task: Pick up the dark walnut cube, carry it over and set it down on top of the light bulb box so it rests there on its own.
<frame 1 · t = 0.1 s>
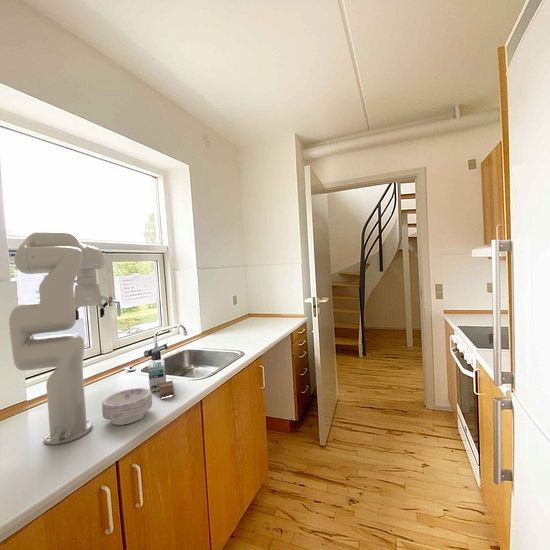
hand: (89, 318, 133), 31 cm above the worktop, tool pointing down, fingers open, 9 cm apart
light bulb box: (158, 387, 127), on the worktop
walnut cube: (167, 396, 117), on the worktop
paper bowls: (129, 419, 100), on the worktop
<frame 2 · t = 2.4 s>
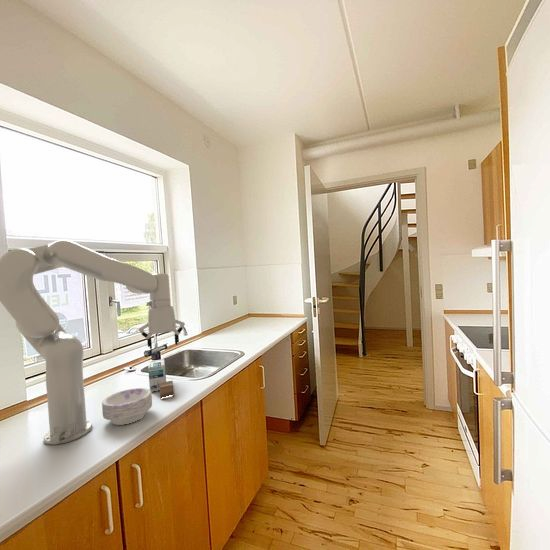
hand: (163, 346, 117), 20 cm above the worktop, tool pointing down, fingers open, 9 cm apart
nothing on the worktop moved.
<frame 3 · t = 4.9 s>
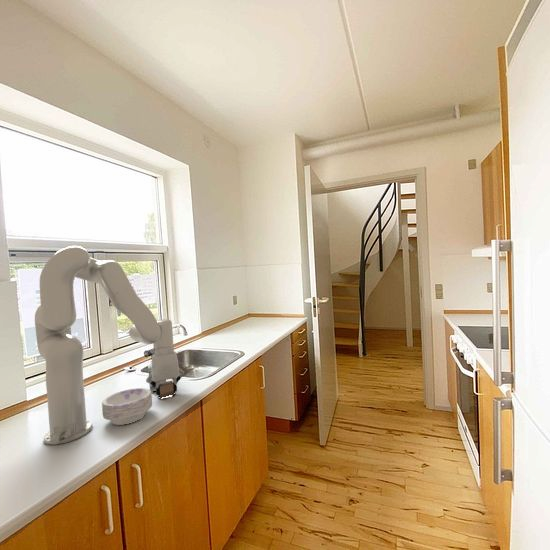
hand: (166, 394, 117), 0 cm above the worktop, tool pointing down, fingers closed on walnut cube, 5 cm apart
walnut cube: (167, 395, 117), on the worktop, touching gripper
everything else where it was.
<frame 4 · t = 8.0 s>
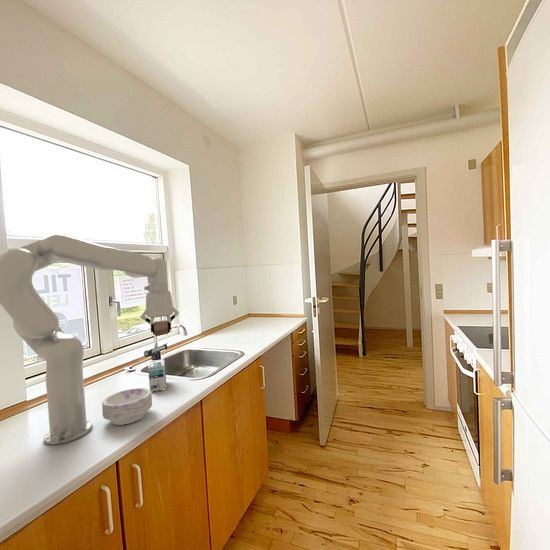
hand: (161, 332, 118), 25 cm above the worktop, tool pointing down, fingers closed on walnut cube, 4 cm apart
walnut cube: (161, 333, 118), point 25 cm above the worktop, touching gripper
everything else where it was.
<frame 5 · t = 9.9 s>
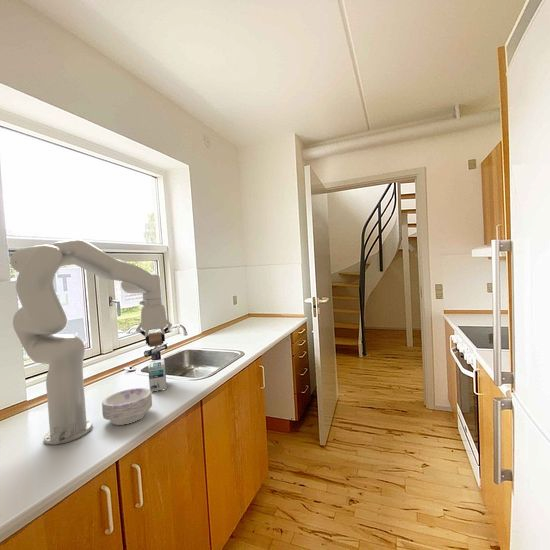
hand: (155, 343, 127), 19 cm above the worktop, tool pointing down, fingers closed on walnut cube, 4 cm apart
walnut cube: (155, 344, 127), point 19 cm above the worktop, touching gripper
everything else where it was.
when the fingers open (12 cm above the worktop, at t = 11.5 s): walnut cube drops 1 cm, resting on light bulb box.
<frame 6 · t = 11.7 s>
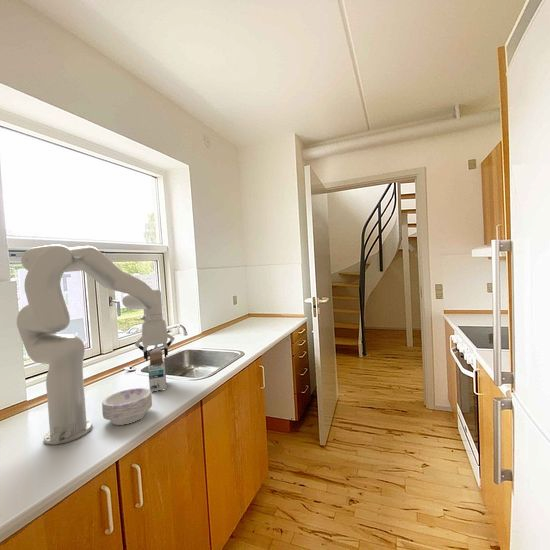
hand: (156, 358, 126), 13 cm above the worktop, tool pointing down, fingers open, 7 cm apart
light bulb box: (158, 387, 127), on the worktop, touching walnut cube
walnut cube: (156, 363, 126), point 11 cm above the worktop, touching light bulb box
everything else where it was.
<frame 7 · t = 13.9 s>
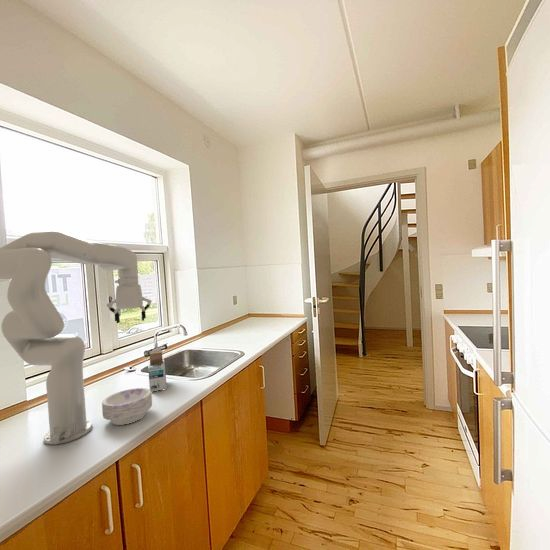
hand: (130, 321, 124), 30 cm above the worktop, tool pointing down, fingers open, 9 cm apart
nothing on the worktop moved.
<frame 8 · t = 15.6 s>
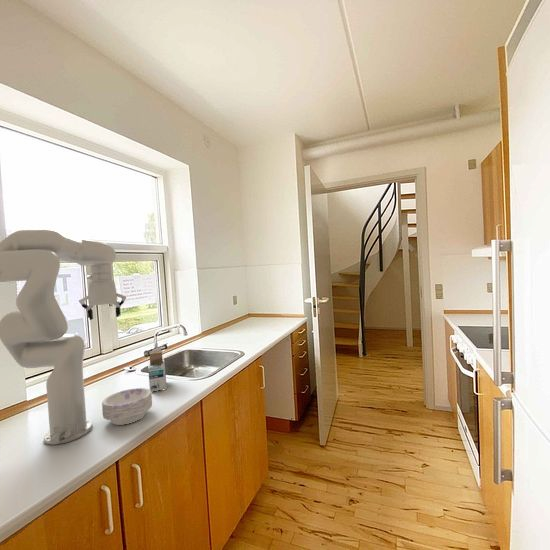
hand: (104, 318, 122), 32 cm above the worktop, tool pointing down, fingers open, 9 cm apart
nothing on the worktop moved.
at the end: walnut cube inside the target area on the light bulb box (0.1 cm from its centre), point 11.0 cm above the light bulb box's base; the gripper is holding nothing; walnut cube touching light bulb box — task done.
